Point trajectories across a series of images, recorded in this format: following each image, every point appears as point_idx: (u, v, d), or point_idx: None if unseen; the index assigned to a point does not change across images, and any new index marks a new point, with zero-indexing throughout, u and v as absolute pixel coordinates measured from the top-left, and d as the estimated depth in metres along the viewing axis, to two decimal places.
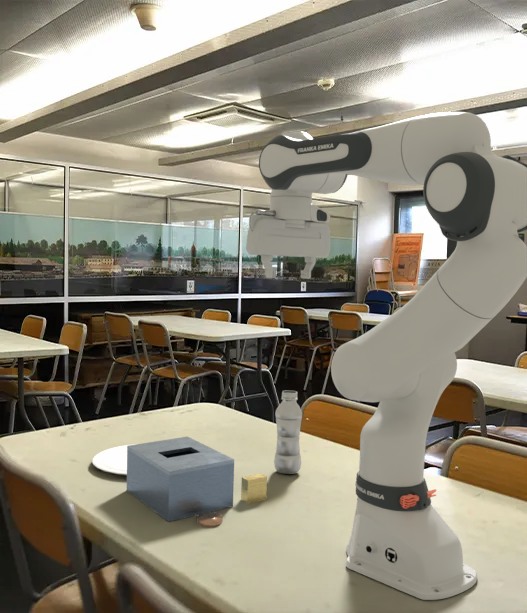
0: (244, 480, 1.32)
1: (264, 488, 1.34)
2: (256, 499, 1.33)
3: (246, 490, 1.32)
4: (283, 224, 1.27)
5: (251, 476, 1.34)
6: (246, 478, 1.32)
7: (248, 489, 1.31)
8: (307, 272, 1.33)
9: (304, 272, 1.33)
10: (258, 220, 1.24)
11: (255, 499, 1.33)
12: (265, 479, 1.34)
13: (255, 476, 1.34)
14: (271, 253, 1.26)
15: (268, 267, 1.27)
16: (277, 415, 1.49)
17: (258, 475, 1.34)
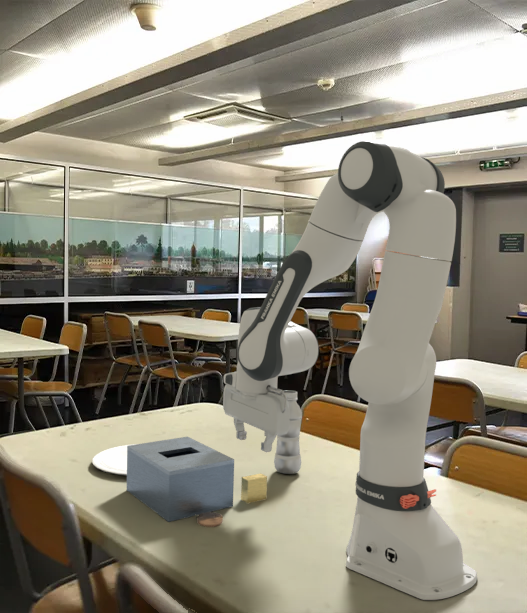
0: (244, 480, 1.32)
1: (264, 488, 1.34)
2: (256, 499, 1.33)
3: (246, 490, 1.32)
4: None
5: (251, 476, 1.34)
6: (246, 478, 1.32)
7: (248, 489, 1.31)
8: None
9: (244, 433, 1.37)
10: None
11: (255, 499, 1.33)
12: (265, 479, 1.34)
13: (255, 476, 1.34)
14: None
15: (271, 441, 1.29)
16: None
17: (258, 475, 1.34)
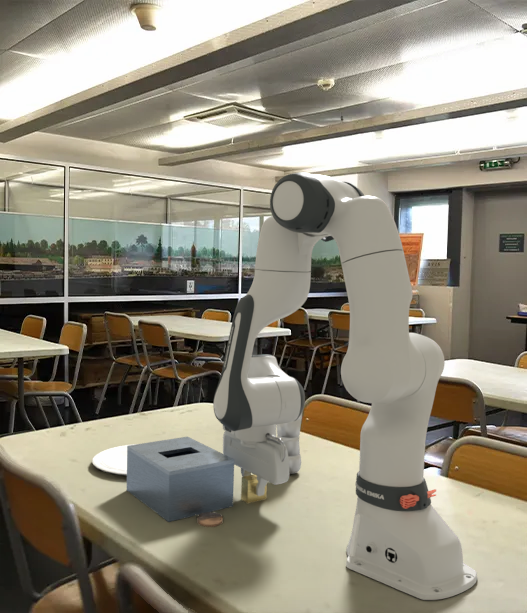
0: (244, 480, 1.32)
1: None
2: (256, 499, 1.33)
3: (246, 490, 1.32)
4: None
5: (251, 475, 1.34)
6: (246, 478, 1.32)
7: (248, 489, 1.31)
8: None
9: None
10: None
11: (255, 499, 1.33)
12: None
13: (255, 476, 1.34)
14: None
15: (264, 485, 1.31)
16: None
17: None
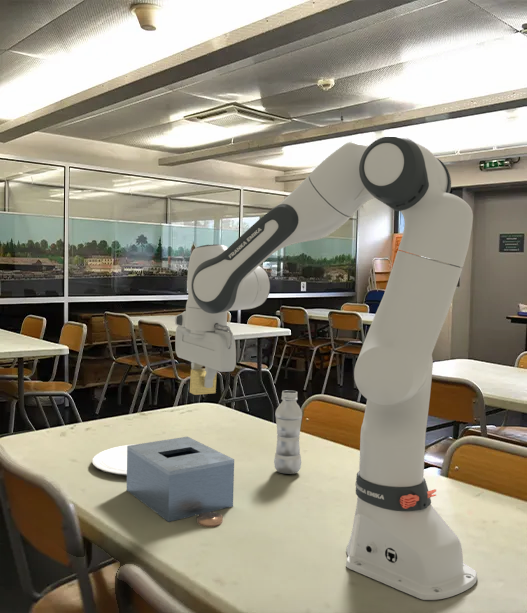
0: (193, 372, 1.31)
1: (213, 382, 1.32)
2: (204, 392, 1.31)
3: (194, 381, 1.30)
4: None
5: (200, 369, 1.33)
6: (195, 370, 1.31)
7: (196, 380, 1.30)
8: None
9: None
10: None
11: (203, 391, 1.31)
12: None
13: (204, 369, 1.33)
14: None
15: (212, 377, 1.30)
16: (277, 415, 1.49)
17: None
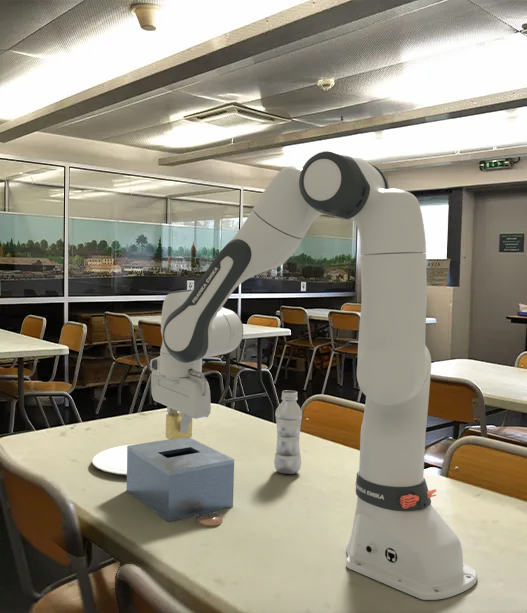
0: (168, 417, 1.31)
1: (189, 426, 1.32)
2: (180, 436, 1.31)
3: (169, 427, 1.30)
4: None
5: (176, 413, 1.33)
6: (170, 415, 1.31)
7: (172, 425, 1.30)
8: None
9: None
10: None
11: (179, 436, 1.31)
12: None
13: (180, 413, 1.32)
14: None
15: (188, 422, 1.30)
16: (277, 415, 1.49)
17: None
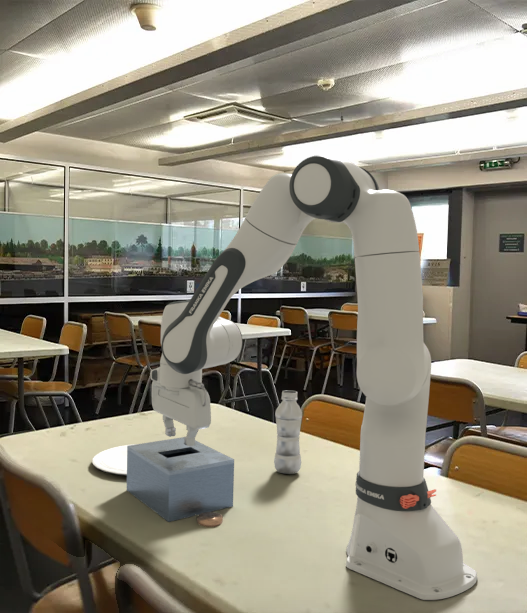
0: None
1: None
2: None
3: None
4: None
5: None
6: None
7: None
8: None
9: (173, 430, 1.35)
10: None
11: None
12: None
13: None
14: None
15: (194, 436, 1.28)
16: (277, 415, 1.49)
17: None
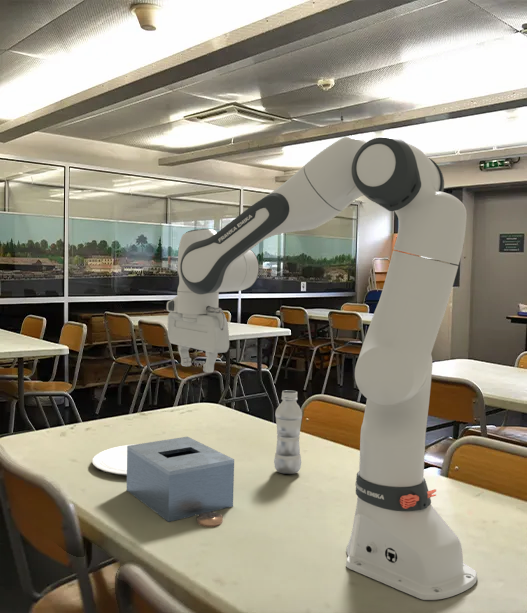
0: None
1: None
2: None
3: None
4: None
5: None
6: None
7: None
8: None
9: (189, 360, 1.37)
10: None
11: None
12: None
13: None
14: None
15: (213, 362, 1.30)
16: (277, 415, 1.49)
17: None
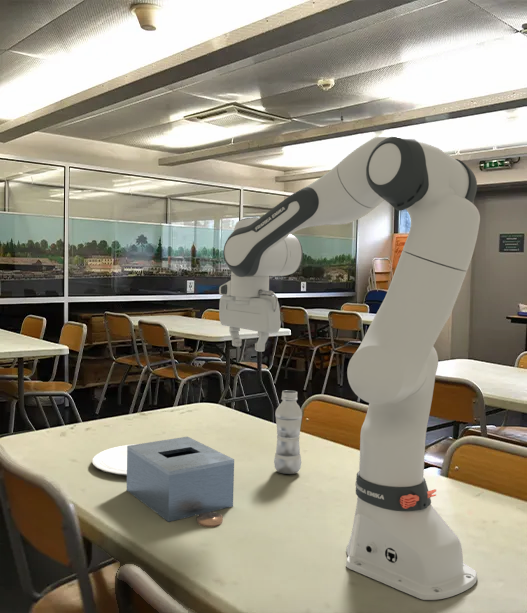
0: None
1: None
2: None
3: None
4: None
5: None
6: None
7: None
8: None
9: (239, 340, 1.47)
10: None
11: None
12: None
13: None
14: None
15: (264, 342, 1.39)
16: (277, 415, 1.49)
17: None
